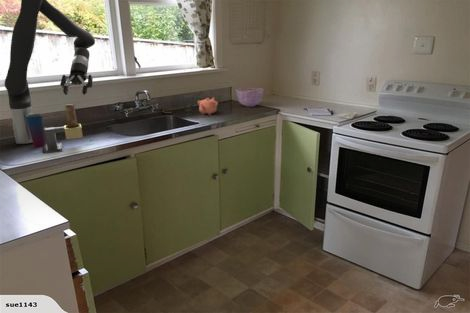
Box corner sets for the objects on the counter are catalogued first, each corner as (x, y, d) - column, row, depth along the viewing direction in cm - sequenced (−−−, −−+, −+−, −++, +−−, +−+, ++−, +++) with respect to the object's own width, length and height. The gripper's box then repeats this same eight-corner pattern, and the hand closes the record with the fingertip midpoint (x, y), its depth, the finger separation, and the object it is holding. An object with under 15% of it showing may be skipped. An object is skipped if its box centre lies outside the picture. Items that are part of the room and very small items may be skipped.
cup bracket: (42, 153, 171) (39, 132, 168) (43, 147, 180) (40, 127, 177) (84, 148, 178) (81, 127, 174) (83, 143, 186) (80, 123, 183)
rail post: (69, 135, 176) (64, 106, 172) (69, 133, 180) (64, 104, 175) (78, 134, 178) (74, 105, 173) (78, 132, 181) (74, 103, 177)
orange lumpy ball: (219, 115, 243) (219, 99, 240) (201, 116, 240) (200, 100, 237) (214, 111, 256) (214, 96, 253) (197, 112, 254) (196, 97, 250)
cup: (43, 143, 187) (38, 113, 182) (50, 145, 183) (44, 114, 178) (29, 146, 182) (23, 115, 177) (35, 148, 178) (29, 117, 173)
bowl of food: (268, 104, 275) (269, 88, 272) (255, 109, 259) (255, 92, 256) (245, 102, 286) (245, 86, 282) (230, 106, 270) (230, 90, 266)
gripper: (62, 62, 184) (56, 89, 177) (91, 61, 184) (87, 88, 177) (67, 72, 191) (62, 98, 184) (96, 71, 191) (92, 98, 184)
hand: (74, 93), depth 180 cm, fingers open, 8 cm apart
